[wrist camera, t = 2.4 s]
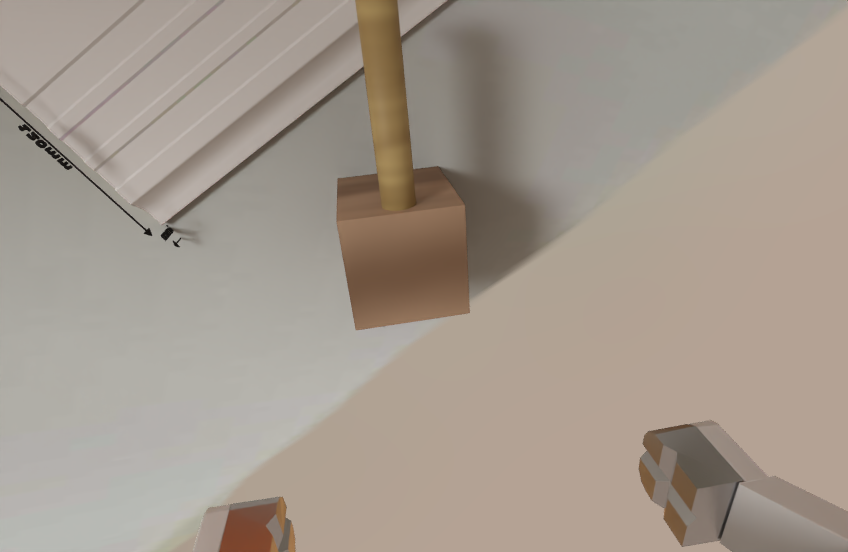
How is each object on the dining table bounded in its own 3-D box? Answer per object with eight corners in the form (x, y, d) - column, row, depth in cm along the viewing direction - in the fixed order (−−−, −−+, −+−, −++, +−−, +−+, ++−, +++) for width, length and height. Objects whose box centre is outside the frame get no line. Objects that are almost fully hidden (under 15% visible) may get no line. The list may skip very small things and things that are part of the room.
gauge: (308, 2, 20) (296, -7, 15) (426, -8, 21) (455, -20, 15) (352, 268, 26) (355, 330, 21) (444, 256, 26) (469, 313, 21)
